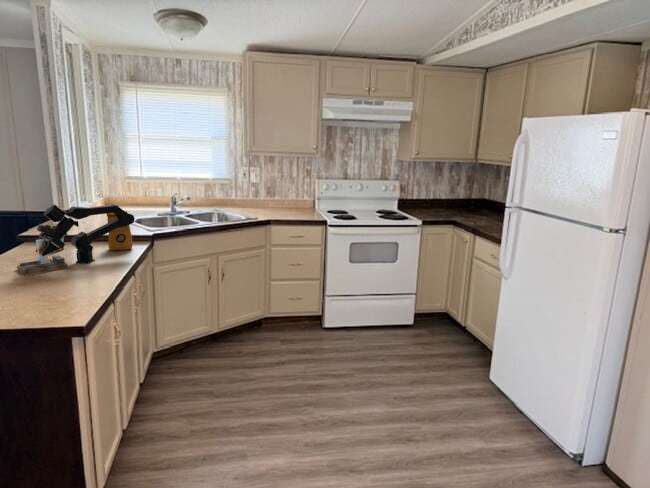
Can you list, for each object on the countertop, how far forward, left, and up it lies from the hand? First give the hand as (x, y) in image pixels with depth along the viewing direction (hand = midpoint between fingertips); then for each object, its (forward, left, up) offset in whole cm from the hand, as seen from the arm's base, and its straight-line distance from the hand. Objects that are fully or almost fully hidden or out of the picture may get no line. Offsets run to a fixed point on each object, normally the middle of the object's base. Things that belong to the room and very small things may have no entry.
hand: (39, 253), depth 208 cm
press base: (0, -1, -8) cm, 8 cm away
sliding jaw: (-1, -1, -5) cm, 6 cm away
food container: (+19, -36, -8) cm, 41 cm away
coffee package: (-13, -44, -8) cm, 47 cm away
